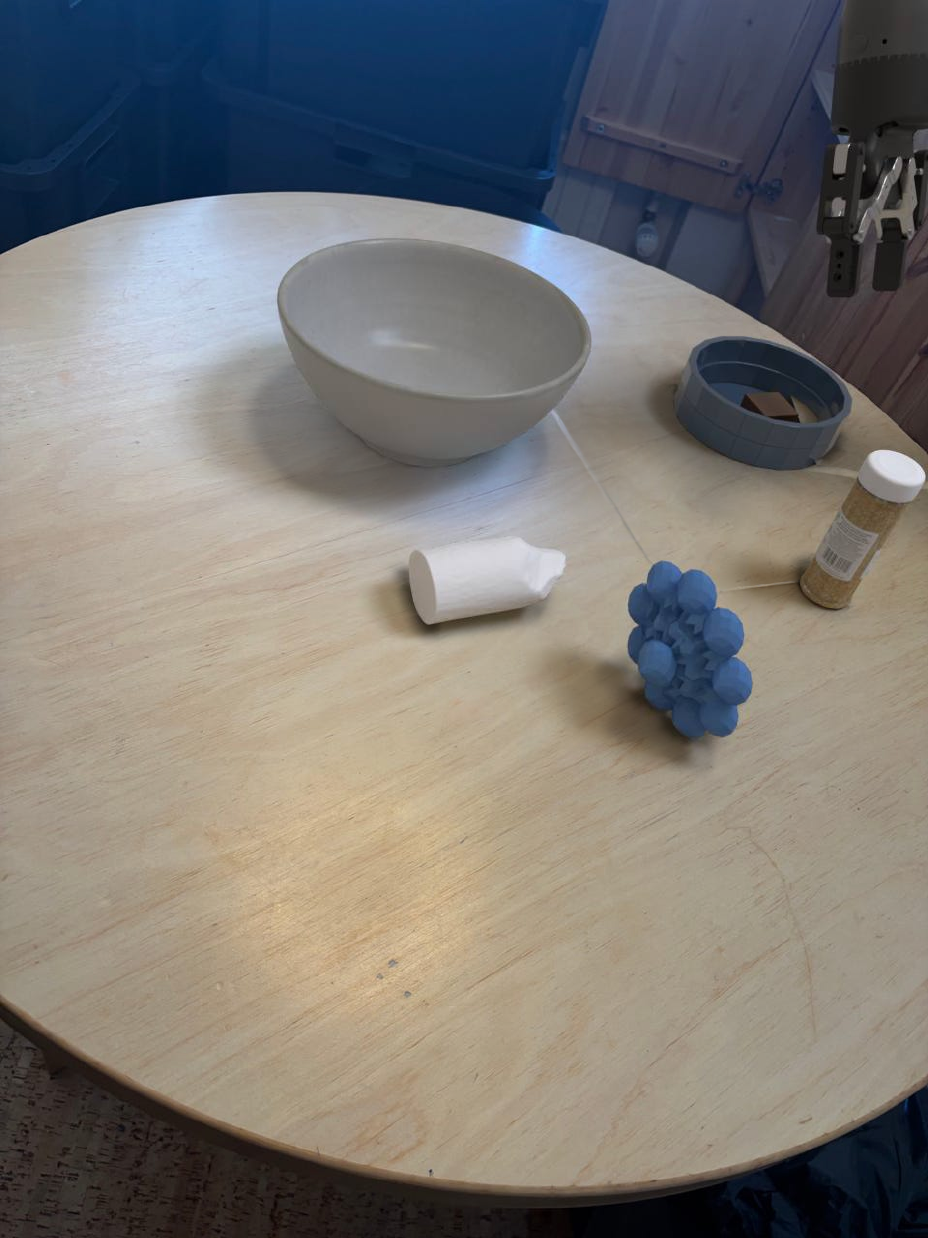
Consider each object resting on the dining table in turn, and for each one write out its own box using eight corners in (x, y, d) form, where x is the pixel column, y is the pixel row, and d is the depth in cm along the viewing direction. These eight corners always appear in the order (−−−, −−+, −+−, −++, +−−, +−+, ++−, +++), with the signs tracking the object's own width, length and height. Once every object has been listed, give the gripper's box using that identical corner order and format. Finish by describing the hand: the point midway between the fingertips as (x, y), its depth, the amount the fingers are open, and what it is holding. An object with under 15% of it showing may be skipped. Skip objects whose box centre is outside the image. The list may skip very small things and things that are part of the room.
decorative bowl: (235, 368, 91) (233, 245, 83) (478, 339, 102) (499, 229, 94) (340, 546, 76) (352, 418, 67) (613, 490, 87) (652, 374, 78)
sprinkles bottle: (860, 604, 81) (940, 478, 72) (821, 615, 79) (898, 487, 70) (825, 569, 84) (898, 443, 74) (786, 579, 82) (856, 451, 72)
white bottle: (572, 616, 74) (591, 563, 70) (429, 640, 70) (440, 585, 66) (542, 565, 78) (557, 512, 74) (404, 585, 74) (412, 529, 70)
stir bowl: (808, 394, 106) (829, 350, 102) (845, 485, 94) (871, 438, 90) (664, 370, 104) (680, 324, 100) (682, 459, 92) (701, 411, 89)
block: (763, 424, 98) (778, 391, 96) (783, 447, 96) (799, 414, 93) (730, 426, 97) (745, 392, 94) (750, 450, 95) (765, 416, 92)
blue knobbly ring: (565, 669, 70) (608, 548, 62) (633, 642, 73) (683, 523, 65) (667, 788, 64) (730, 671, 56) (737, 752, 67) (806, 636, 59)
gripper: (906, 37, 62) (876, 300, 68) (979, 59, 71) (947, 288, 77) (796, 55, 67) (777, 299, 72) (878, 74, 76) (855, 288, 82)
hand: (865, 293), depth 75 cm, fingers open, 8 cm apart
